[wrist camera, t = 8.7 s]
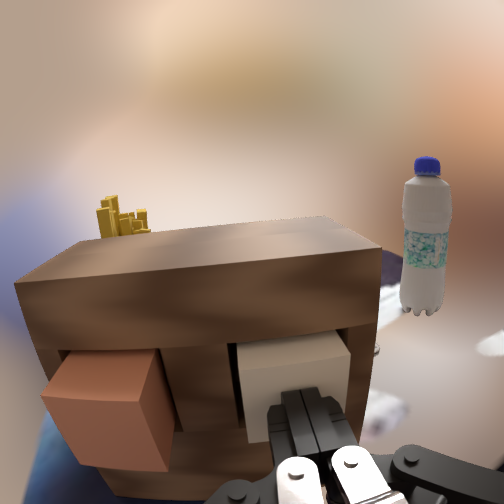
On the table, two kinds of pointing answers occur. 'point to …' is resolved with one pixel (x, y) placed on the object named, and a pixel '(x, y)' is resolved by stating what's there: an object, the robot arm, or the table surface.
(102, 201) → the french fries container
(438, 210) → the bottle
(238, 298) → the key panel
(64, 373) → the terracotta key
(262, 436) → the ivory key
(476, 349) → the table surface
